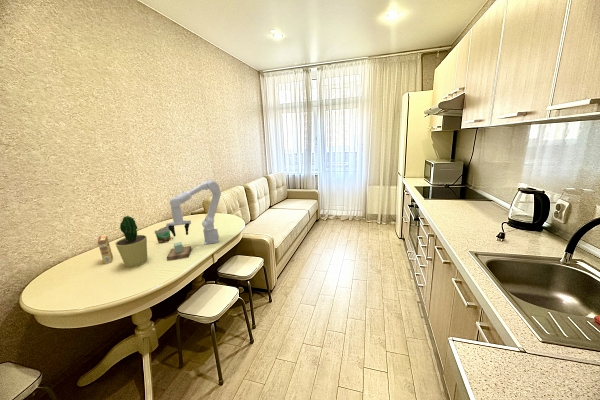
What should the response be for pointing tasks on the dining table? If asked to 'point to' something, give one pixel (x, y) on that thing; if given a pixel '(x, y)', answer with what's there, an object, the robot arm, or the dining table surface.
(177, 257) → the walnut box
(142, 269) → the dining table surface
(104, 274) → the dining table surface
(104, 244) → the candy box
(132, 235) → the potted cactus
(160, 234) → the food container
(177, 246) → the sage block
